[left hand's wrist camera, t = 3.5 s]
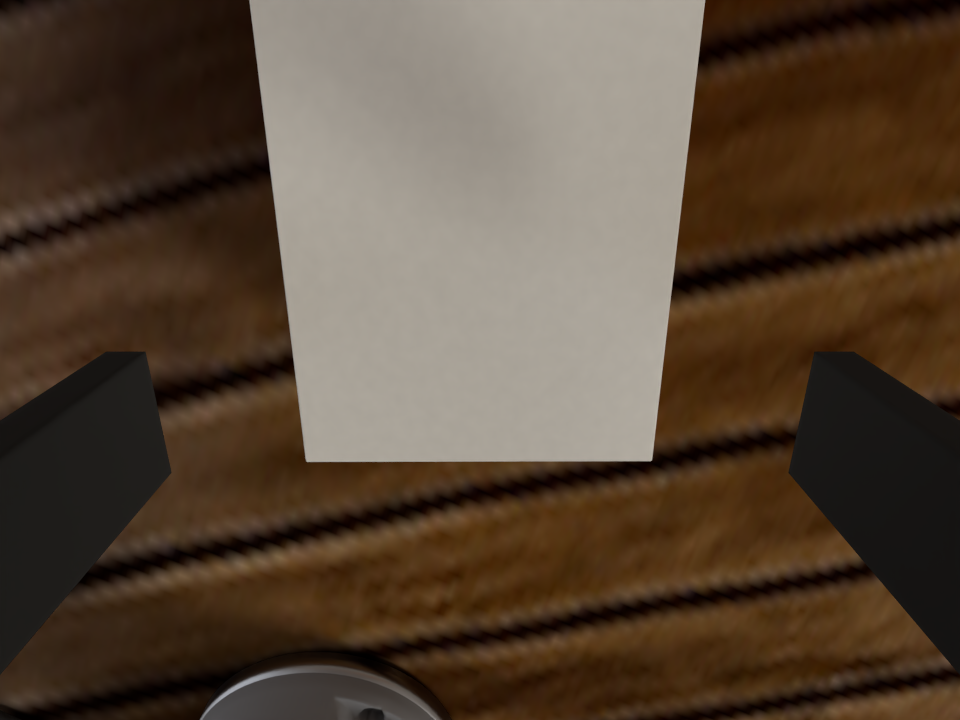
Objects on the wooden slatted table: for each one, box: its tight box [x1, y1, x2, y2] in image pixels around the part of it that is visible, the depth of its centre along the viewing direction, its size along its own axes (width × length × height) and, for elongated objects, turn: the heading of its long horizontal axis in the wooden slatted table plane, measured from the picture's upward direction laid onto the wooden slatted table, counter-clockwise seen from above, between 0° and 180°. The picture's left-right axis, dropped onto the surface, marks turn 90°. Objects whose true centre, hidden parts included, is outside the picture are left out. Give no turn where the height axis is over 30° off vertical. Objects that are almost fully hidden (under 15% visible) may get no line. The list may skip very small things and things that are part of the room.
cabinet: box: [249, 0, 705, 462], centre depth 20 cm, size 20×11×9 cm, turn 0°
